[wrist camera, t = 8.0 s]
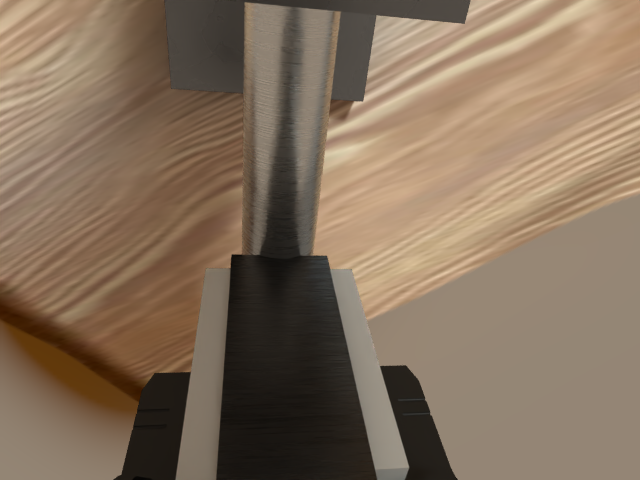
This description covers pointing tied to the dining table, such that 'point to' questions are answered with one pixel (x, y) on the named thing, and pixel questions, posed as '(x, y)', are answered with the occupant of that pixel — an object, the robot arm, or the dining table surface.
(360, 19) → the shaft stand
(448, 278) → the dining table surface
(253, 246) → the shaft
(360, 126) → the dining table surface
